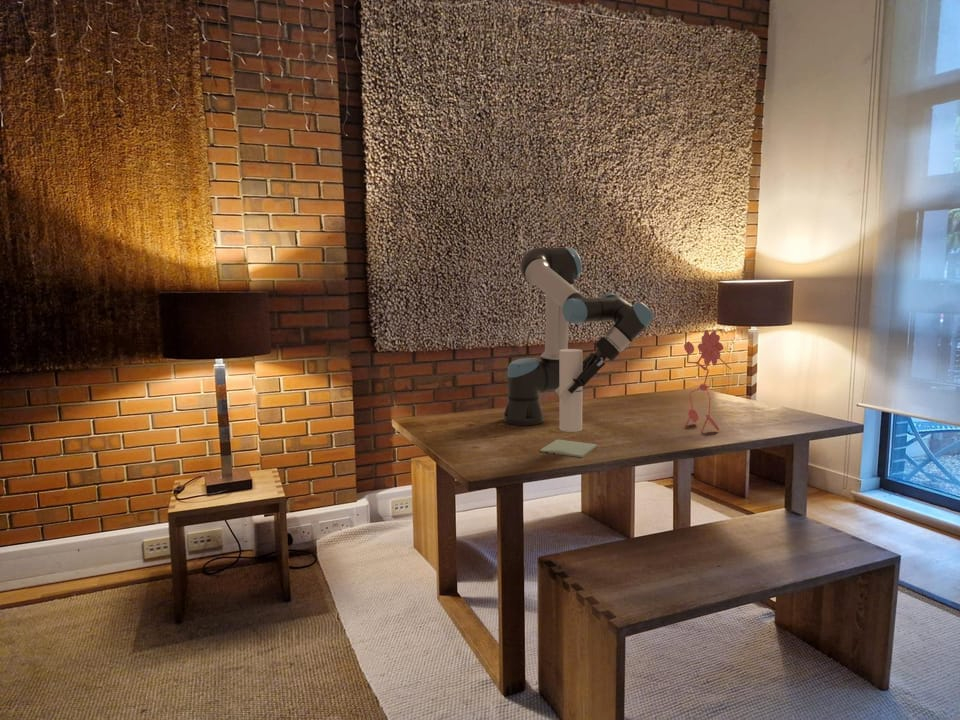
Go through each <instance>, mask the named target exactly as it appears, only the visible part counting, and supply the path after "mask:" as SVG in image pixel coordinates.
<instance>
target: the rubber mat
mask: <svg viewBox="0 0 960 720" xmlns="http://www.w3.org/2000/svg"><path fill="white" fill-rule="evenodd" d="M597 447H598V443H597V444H596V443H590V442H581V441H571V440H565V439H555V440H553V441H552V442H550V443H548V444H547V445H546V446H544V447H542V448H540V449H539V452H540V451H541V452H540V453H545V452H548V453H547V454H553V453H555V455H561V456H562V455H563V456H568V457H569V456H570V457H576V458H584V457H585V456H586V455H588V454H589V453H590V452H591V451H594V449H595V448H597Z"/></svg>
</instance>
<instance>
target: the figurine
mask: <svg viewBox="0 0 960 720" xmlns="http://www.w3.org/2000/svg"><path fill="white" fill-rule="evenodd" d="M720 339H721V337H720V335H719V334H717V332H716V330H713V331H711V332H709V330H708V329H705V330H704V332H703V335H702V336H701V343H699V344H697V349H698V351H699V352H700V353H701V354H700V357H699V359H698V360H697V361H689V356H690V355H692V354H693V353H694V352H695V347H694V345H693V343H692V342H690V341H689V340H688V341H685V343H684V345H683V348H684V351H685V352H686V353H687V354H686V363H687V364H696V365H698V366H699V367H700V368H701V369H703V370H704V371H706V374H705V379H704V382H703V383H701V384H699V388H696V389H694V390H692V391H689V393H688V395H689V400H690V405H691V406H690V407H691V409H689V410H688V412H687V413H688V414H687V415H688V419H687V420H686V423H685V427H688V426H689V425H688V424H689V422H690V420H691V421H692V422H693V423H694V424H696V423H697V422H698V421H699V420H700V419H699V418H700V417H699V414H698V412H697V411H696V410H695V409H693V402H692V396H691V395H692V393H694V392H697V391H699V390H700V391H702V392H706V393H707V395H708V397H709V399H708V401H709V402H708V413H706V414H705V417H706V418H705V419H703V421H705V422H704V423H703V426H702V427H701V430H700V432H702V433H703V431H704V430H705V427H706V424H707V423H708V422H709V423H710V424H711V426H713V427H714V428H715V429H716V430H717V431H718V432H719V431H720V428H719V427H718V425H717V423H718V424H722V425H726V426H728V427H730V428H732V426H731V425H729V424H728V423H724V422H719V421H717V422H716V421H714V419H713V417H711V415H710V413H711V395H710V393H709V391H708V385H707V384H706V383H707V378H708V375H709V372H710V371H709V369H708V367H709V365H710V363H711V364H712V365H713V366H716V365H717V363H718V360H719V361H721V362H722V363H723V364H724V365H725V367H727V368H728V369H729V370H732V368H731V367H730V366H729V364H727V363H726V362H725V361H724V360H723V359H722V358H721V353H720V352H721V351H723V350H724V345H723V344H722V342H720ZM701 360H703V361H704V362H703V363H704V365H705V366H704V365H702V364H700V361H701Z"/></svg>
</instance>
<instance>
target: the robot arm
mask: <svg viewBox="0 0 960 720" xmlns="http://www.w3.org/2000/svg"><path fill="white" fill-rule="evenodd" d="M582 269H583V265H582V260H581V257H580V254H578V252H577V250H575V249H574V248H571V247H565V246H561V247H560V246H559V247H556V246H555V247H533V248H532V249H529V250H528V251H527V252H525V253H524V255H523V256H522V258H521V260H520V264H519V270H520V273H521V275H522V277H523V278H524V280H526V281H527V282H528V283H530V284H531V285H533V286H534V285H536V287H538V288H539V289H540V290H541V291H543V292H544V293H545V294H546V304H545V305H546V306H545V307H546V309H545V310H546V311H545V335H544V340H545V341H544V351H543V353H541V354H540V359H539V358H536V357H524V358H518V359H516V360H512V361H511V362H509V364H508V366H507V375H506V376H507V403H506V406H505V409H504V412H503V422H504V423H505V424H508V425H513V426H534V425H535V426H536V425H539V424H542V423H543V422H544V421H545V420H544V413H543V409H542V407H541V404H540V393H545V392H555V393H556V394H557V395H558V397H560V398H561V399H562V400H563V401H564V402H566V401H567V400H568V399H569V398H570V397H571V396H572V395H573V394H574V393H575V392H576V391H577V390H578V389H579V388H580V387H581V386H582V388H583V387H585V386H586V384H587V383H588V382H589V381H591V379H592V378H593V377H594V376H595V375H596V373H598V372H599V371H600V369H601V368H602V367H604V366H605V365H606V362H605V360H606V359H607V360H609V361H610V362H612V361H614V360H615V359H616V358H617V357H618V356H620V352H622V351H624V349H628V348H629V347H630V346H629V344H631V343H632V342H633V341H634V340H635V339H636V338H637V337H638V336H639V335H640V334H641V333H642V332H643V331H644V330H646V328H648V326H649V325H650V324H651V323H652V321H654V319H655V315H654V312H653V311H652V310H651V309H650V308H649V307H648V306H647V305H646V304H644V303H643V302H641V301H636V302H635V303H634V304H631V303H629V302H628V301H626V300H625V299H624V298H623V297H621V296H620V295H618V294H616V293H614V292H606V293H604V294H603V295H601V297H586V296H585V295H584V294H582V293H581V292H580V291H578V290H577V289H576V288H575V287H574V286H575V281H576V280H577V279H579V277H581V273H582ZM592 322H594V323H595V322H613V323H614V324H613V325H612V326H610V328H609V329H608V330H607V331H606V332H605V333H604V334H603V335H604V336H602V337H600V338H599V339H598V340H597V341H596V342H595V343H594V346H595V347H596V349H597V351H595V352H590V353H589V354H588V355H587V357H586V358H584V359H583V371H582V373H581V374H580V375H579V376H578V377H577V379H573V381H572V382H571V383H570V384H569V385H568V387H567V388H566V389H565V390H564V391H563V392H562V393H561V394H560V395H559V350H563V349H569V346H568V345H569V327H570V326H569V324H570V323H575V324H580V323H581V324H582V323H592Z"/></svg>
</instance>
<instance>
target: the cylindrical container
mask: <svg viewBox="0 0 960 720" xmlns="http://www.w3.org/2000/svg"><path fill="white" fill-rule="evenodd" d="M583 355H584V354H583V349H577V348H575V349H574V348H568V349H563V350H559V395H560V394H561V393H562V392H563V391H564V390H565V389H566V388H567V387H568V385H569V384H570V383H571V382H572V381H573V379H577V377H578V376H579V375H580V374H581V373H582V371H583V361H584V359H583V357H584V356H583ZM559 395H558V397H559ZM558 401H559V407H558V408H559V414H558V415H559V419H558V420H559V421H558V422H559V430H560V431H562V432H567V433H569V432H570V433H572V432H573V433H575V432H580V431H583V387H582V386H581V387H580V388H579V389H578V390H577V391H576V392H575V393H574V394H573V395H572V396H571V397H570V398H569V399H568V400H567V401H566V402H564V401H563V400H562V399H561V398H560V397H559V399H558Z"/></svg>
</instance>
